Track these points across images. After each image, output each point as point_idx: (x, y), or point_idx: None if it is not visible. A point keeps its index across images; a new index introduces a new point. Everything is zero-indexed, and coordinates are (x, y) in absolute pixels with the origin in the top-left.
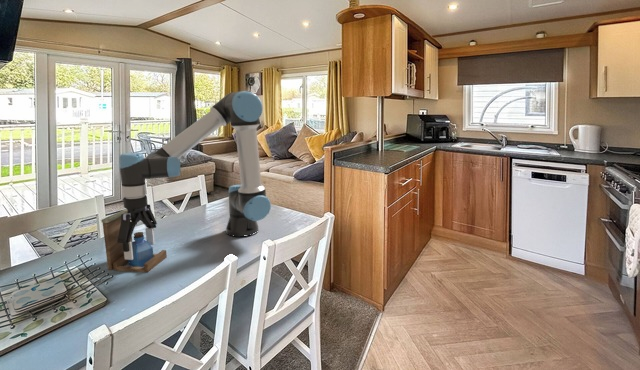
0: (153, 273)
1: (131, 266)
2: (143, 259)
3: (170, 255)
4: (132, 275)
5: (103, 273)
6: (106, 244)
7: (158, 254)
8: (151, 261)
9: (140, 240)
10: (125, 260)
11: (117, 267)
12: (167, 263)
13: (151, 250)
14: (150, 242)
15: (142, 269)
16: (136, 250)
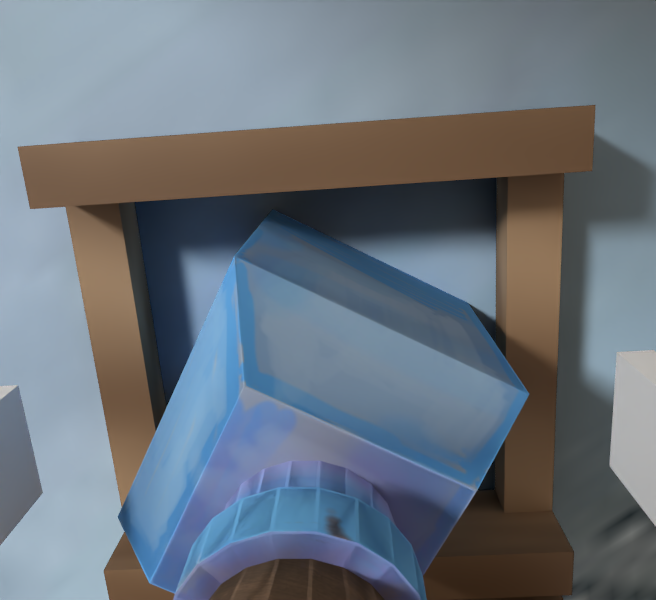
0: (572, 11)
1: None
2: (403, 293)
3: (3, 126)
4: (646, 250)
5: (616, 573)
6: None
7: (208, 166)
8: (472, 114)
9: (364, 515)
10: None
11: (551, 506)
12: (248, 5)
13: (269, 255)
14: (6, 455)
15: (560, 187)
16: (512, 418)
